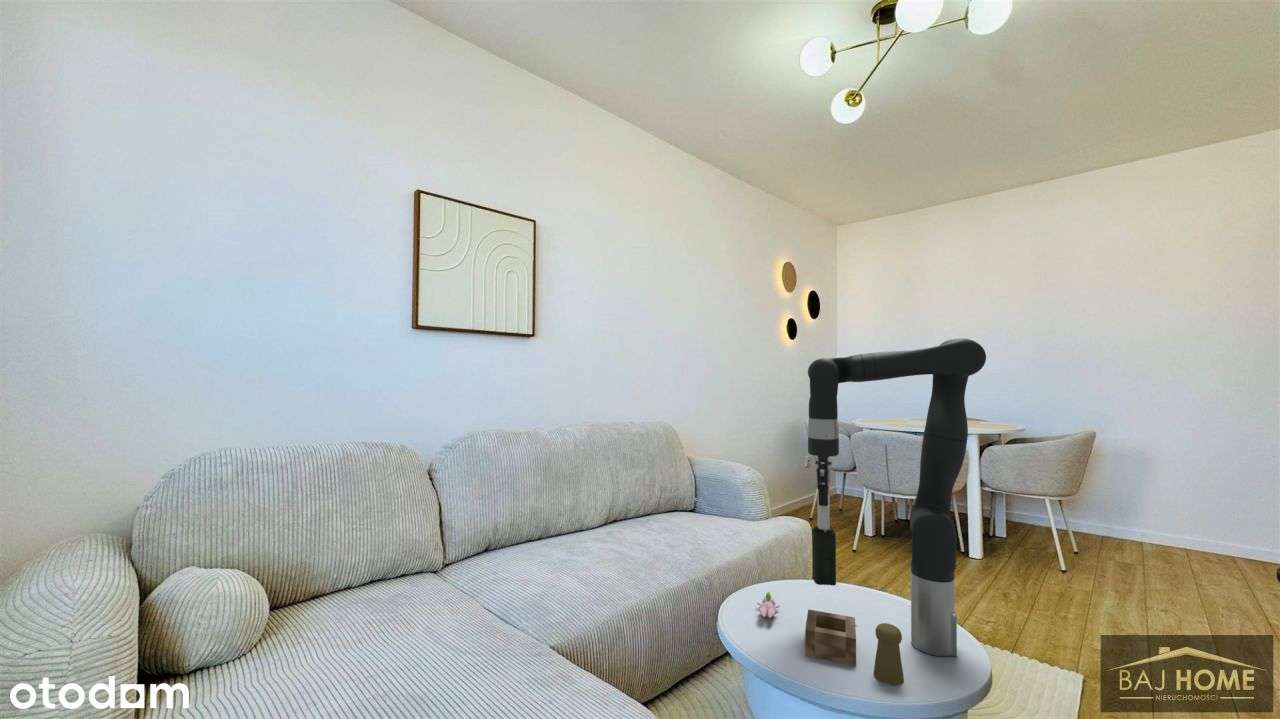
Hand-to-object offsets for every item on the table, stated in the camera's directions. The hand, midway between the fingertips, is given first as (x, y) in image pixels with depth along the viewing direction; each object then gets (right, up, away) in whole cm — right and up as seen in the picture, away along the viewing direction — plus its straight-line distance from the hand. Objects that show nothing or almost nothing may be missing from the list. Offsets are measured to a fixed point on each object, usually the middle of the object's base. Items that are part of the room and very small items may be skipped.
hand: (823, 503), depth 130 cm
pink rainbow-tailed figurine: (-12, -33, +9) cm, 37 cm away
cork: (+7, -33, -19) cm, 39 cm away
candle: (0, -20, -1) cm, 20 cm away
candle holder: (-1, -33, -8) cm, 34 cm away
